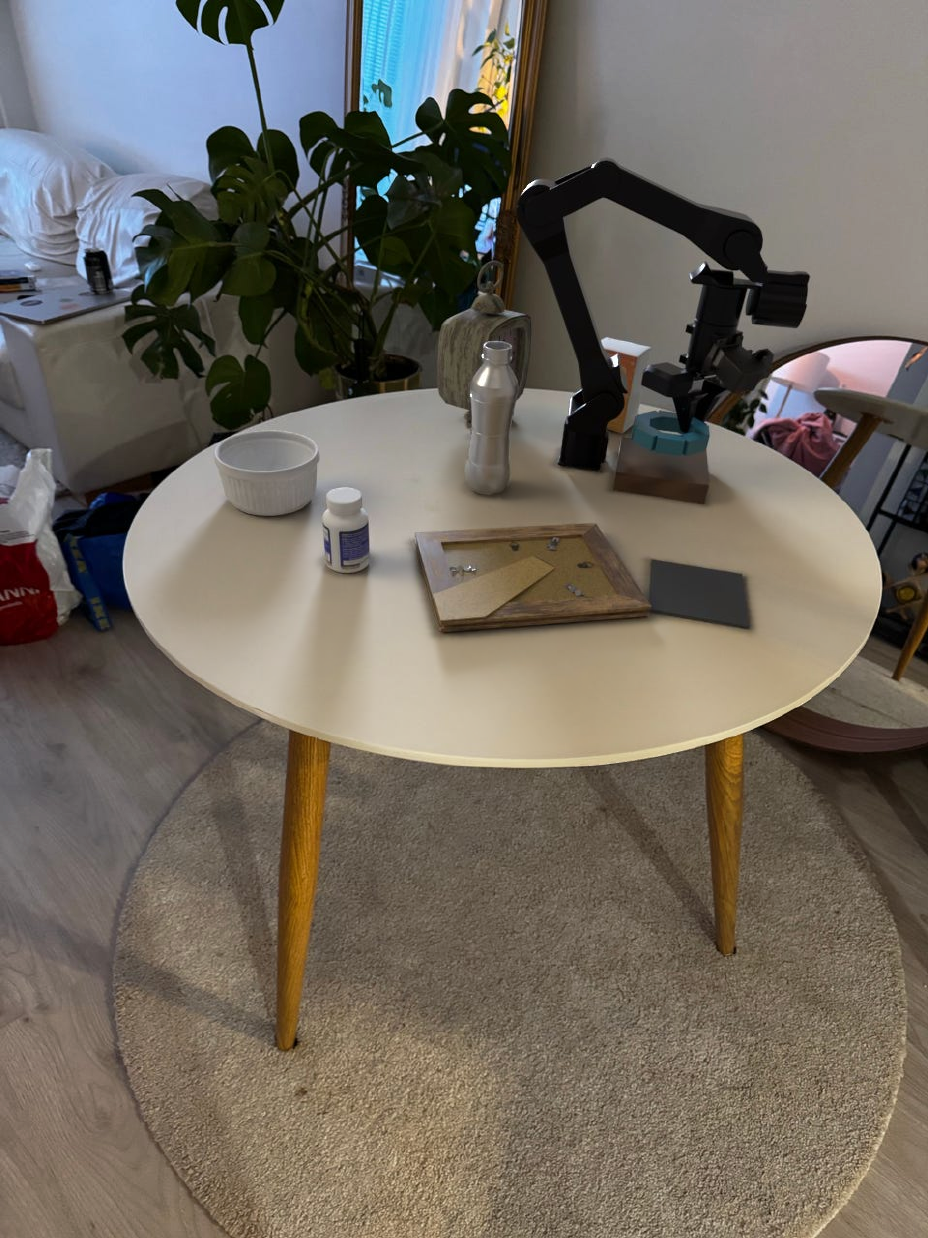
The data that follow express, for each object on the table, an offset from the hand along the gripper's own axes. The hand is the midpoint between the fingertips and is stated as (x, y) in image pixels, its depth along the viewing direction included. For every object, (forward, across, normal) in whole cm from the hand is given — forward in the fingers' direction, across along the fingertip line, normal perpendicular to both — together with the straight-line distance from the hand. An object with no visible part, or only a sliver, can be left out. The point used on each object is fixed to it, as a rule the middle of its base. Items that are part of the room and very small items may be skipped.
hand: (689, 430), depth 111 cm
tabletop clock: (+7, -18, +29) cm, 35 cm away
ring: (+1, -4, 0) cm, 4 cm away
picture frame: (+7, -38, -13) cm, 41 cm away
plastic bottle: (+7, -30, +9) cm, 32 cm away
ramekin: (+7, -57, +19) cm, 61 cm away
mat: (+7, -22, -25) cm, 34 cm away
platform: (+7, -4, 0) cm, 8 cm away
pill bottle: (+7, -55, 0) cm, 56 cm away
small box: (+7, +3, +20) cm, 21 cm away
